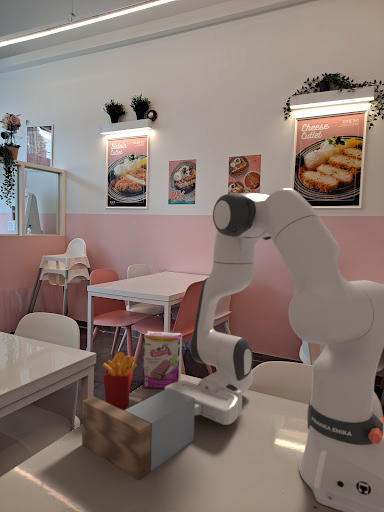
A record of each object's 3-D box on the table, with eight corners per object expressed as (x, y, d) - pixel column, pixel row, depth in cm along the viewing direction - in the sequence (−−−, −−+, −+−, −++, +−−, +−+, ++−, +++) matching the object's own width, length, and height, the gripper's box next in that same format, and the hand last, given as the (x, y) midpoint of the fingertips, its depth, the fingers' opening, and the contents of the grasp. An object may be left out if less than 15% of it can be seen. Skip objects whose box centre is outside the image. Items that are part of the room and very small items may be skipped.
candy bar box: (142, 388, 109) (142, 335, 108) (145, 381, 114) (146, 330, 113) (178, 391, 108) (180, 337, 107) (181, 383, 113) (182, 332, 112)
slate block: (193, 440, 83) (194, 398, 82) (151, 471, 72) (151, 423, 71) (167, 427, 88) (168, 388, 87) (123, 455, 77) (124, 410, 76)
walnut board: (150, 471, 72) (150, 423, 71) (139, 480, 70) (139, 430, 69) (93, 438, 83) (93, 396, 82) (82, 444, 80) (82, 400, 80)
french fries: (102, 412, 94) (102, 356, 93) (109, 398, 102) (109, 346, 101) (135, 413, 94) (136, 357, 93) (140, 398, 102) (141, 347, 101)
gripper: (183, 371, 102) (149, 387, 91) (247, 392, 90) (216, 414, 79) (182, 392, 103) (148, 411, 92) (246, 416, 90) (215, 441, 79)
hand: (180, 413), depth 85 cm, fingers closed
